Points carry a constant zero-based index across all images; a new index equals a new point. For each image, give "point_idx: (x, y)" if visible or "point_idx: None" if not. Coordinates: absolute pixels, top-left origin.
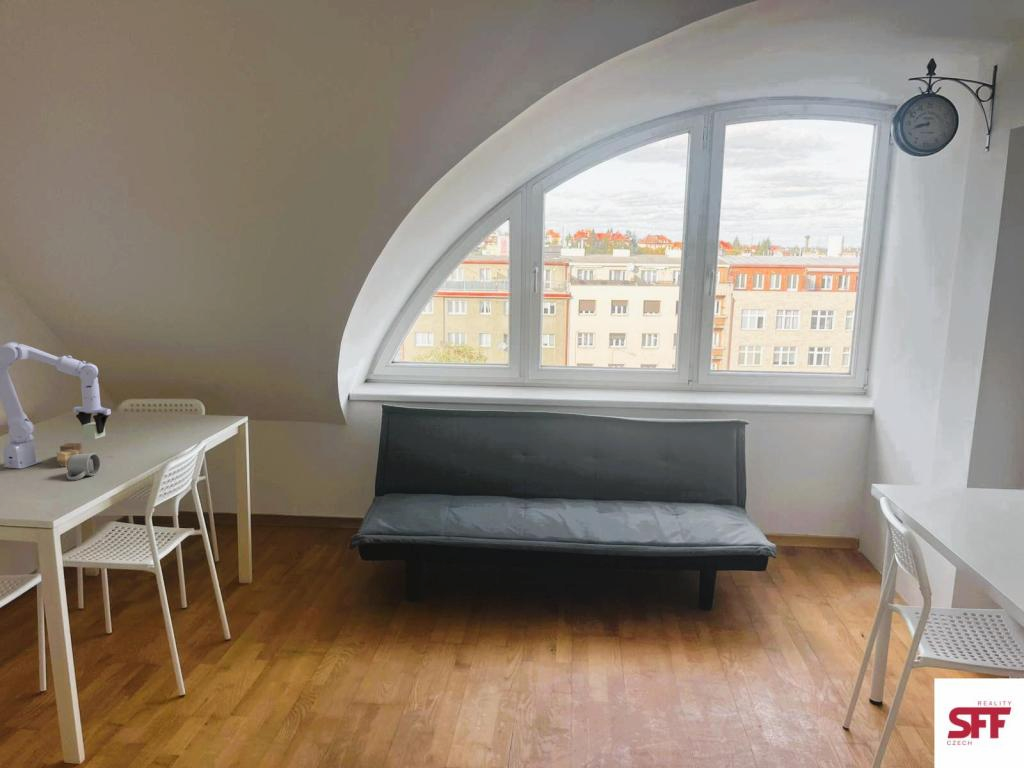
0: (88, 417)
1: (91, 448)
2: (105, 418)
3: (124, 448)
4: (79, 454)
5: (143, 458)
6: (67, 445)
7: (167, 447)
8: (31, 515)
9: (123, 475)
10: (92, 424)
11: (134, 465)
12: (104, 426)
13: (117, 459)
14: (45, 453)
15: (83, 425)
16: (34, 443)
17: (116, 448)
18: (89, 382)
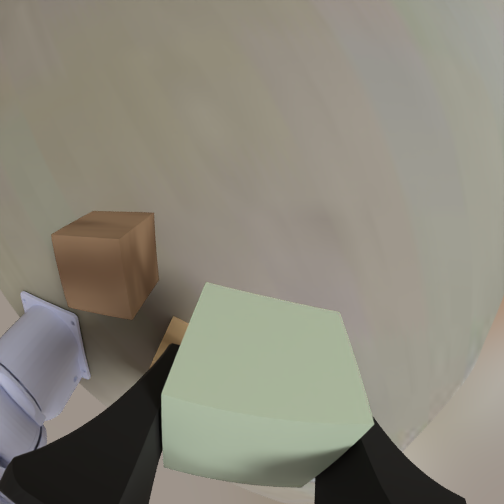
0: (135, 494)
1: (118, 66)
2: (416, 496)
3: (316, 42)
4: (311, 480)
5: (469, 255)
6: (86, 294)
7: (497, 73)
8: (313, 501)
9: (419, 410)
10: (257, 471)
11: (446, 341)
12: (362, 384)
13: (377, 275)
14: (8, 195)
15: (176, 466)
16: (32, 374)
17: (265, 42)
18: None
